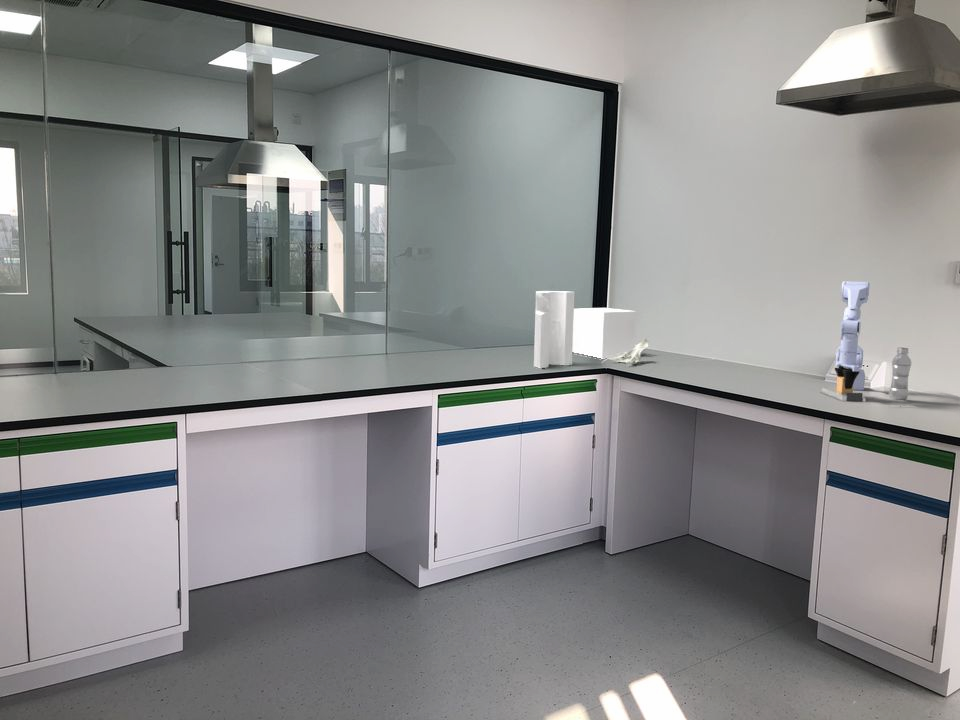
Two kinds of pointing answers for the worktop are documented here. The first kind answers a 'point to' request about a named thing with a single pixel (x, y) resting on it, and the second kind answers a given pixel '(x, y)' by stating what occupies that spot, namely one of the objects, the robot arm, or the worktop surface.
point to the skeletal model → (631, 354)
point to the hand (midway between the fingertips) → (845, 387)
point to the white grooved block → (553, 328)
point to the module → (842, 386)
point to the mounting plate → (843, 395)
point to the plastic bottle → (900, 375)
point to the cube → (603, 331)
